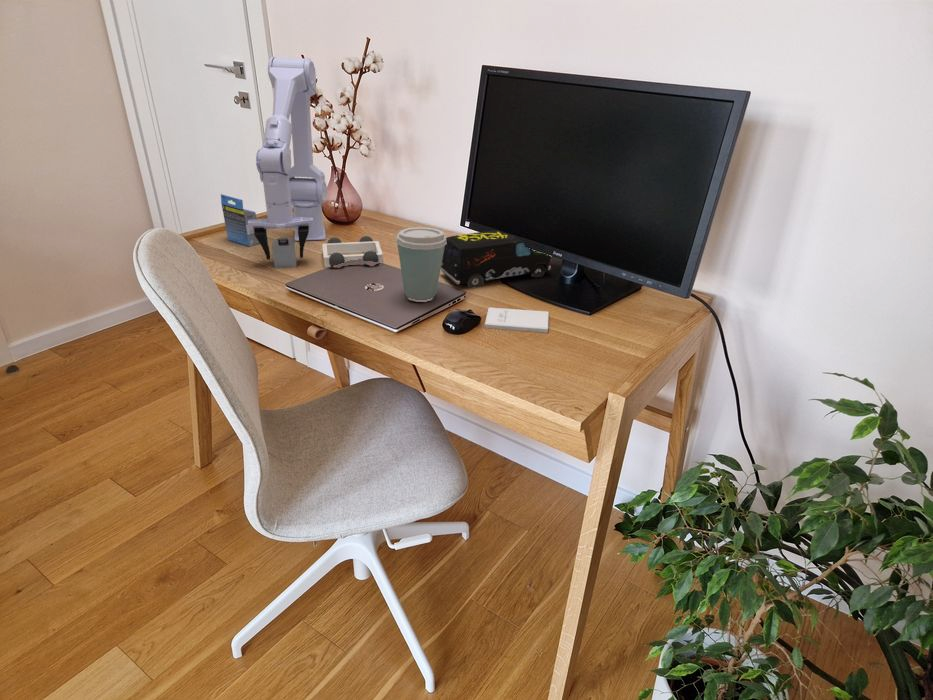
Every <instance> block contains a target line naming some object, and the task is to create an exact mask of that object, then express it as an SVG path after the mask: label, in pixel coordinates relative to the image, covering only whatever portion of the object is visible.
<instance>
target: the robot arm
mask: <svg viewBox="0 0 933 700" xmlns="http://www.w3.org/2000/svg"><path fill="white" fill-rule="evenodd" d="M267 74H268V78H269V81H270V83H271V86H272V88H273V103H272V105H273V107H272V116H270V117H268V118H267V119H266V123H265V128H264V136H263V141H262V147H260V148H259V149H258V150H257V152H256V154H255V165H256V170H257V172H258V173H259V179H260V182H262V183H263V184H262V185H263V191H264V199H265V201H264V202H265V207H266V214H267V215H266V216H267V217H264V218H256V220H248V226H249V231H251V230H254V235H255V237H256V238H257V240H258V241H259V245H261V247H262V249H263V250H262V251H264V255H265V258H266V260H267V261H268V260H269V261H270V260H271V254H270V252H271V251H270V246H269V243H268V242H269V241H268V234H267V230H270V229H271V230H272V229H273V230H274V229H293V228H294V240H295V242H297V241H298V243H299V258H300V259H303V258H304V249H305V245H306V241H319V240H322V241H323V240H326V239H327V238H326V237H327V236H326V228H325V227H324V224H323V223H324V221H323V220H324V219H323V212H322V211H323V209H322V204H323V203H324V202H325V201H326V199H327V195H328V194H327V193H328V187H327V183H326V176H325V172H323V171H322V170H321V169H319V168H318V167H317V166H316V165H314V156H313V138H312V122H311V97H313V96H314V95H316V94H317V74H316V68H315V64H314V61H312V59H311V58H310V57H305V58H304V57H303V58H301V57H299V58H297V57H294V58H293V57H275V56H271V57H270V58H269V60H268V62H267ZM291 140H292V151H291V149H290V146H291ZM292 154H293V155H292ZM292 156H293V166H292Z"/></svg>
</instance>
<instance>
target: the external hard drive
mask: <svg viewBox="0 0 933 700" xmlns="http://www.w3.org/2000/svg"><path fill="white" fill-rule="evenodd" d="M484 328H485V329H494V330H506V331H509V330H510V331H519V332H520V331H521V332H530V333H531V332H532V333H542V334H543V333H545V334H548V333H549V311H545V310H531V309H516V308H504V307H502V308H501V307H500V308H499V307H488V310H487V313H486V318H485V322H484Z"/></svg>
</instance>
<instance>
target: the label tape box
mask: <svg viewBox="0 0 933 700" xmlns="http://www.w3.org/2000/svg"><path fill="white" fill-rule="evenodd" d="M231 201H232V203H230V202H231ZM243 201H244V200H243V199H240V198H237V197H233V196H229V195H226V194H223V193H221V194H220V203H221V209H222V212H223V213H222V214H223V220H224V226H225V230H226V235H227V240H228V241H230V242H234V243H237V244H241V245H244V246H247V247H254V246H256V245H260V243H259V241H258V240H257V238H256V237H255V235H254V230H251V231H249V226H248V220H256V219H257V212H256V211H253V210H250V209H245V208H244V203H243ZM233 203H234V204H233Z"/></svg>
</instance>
